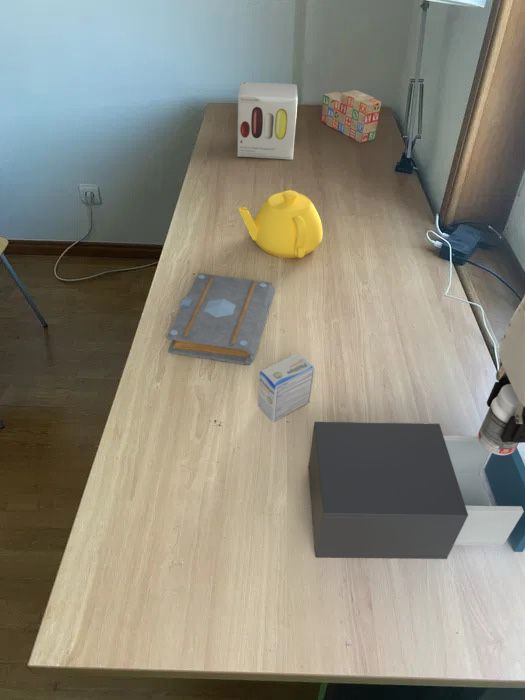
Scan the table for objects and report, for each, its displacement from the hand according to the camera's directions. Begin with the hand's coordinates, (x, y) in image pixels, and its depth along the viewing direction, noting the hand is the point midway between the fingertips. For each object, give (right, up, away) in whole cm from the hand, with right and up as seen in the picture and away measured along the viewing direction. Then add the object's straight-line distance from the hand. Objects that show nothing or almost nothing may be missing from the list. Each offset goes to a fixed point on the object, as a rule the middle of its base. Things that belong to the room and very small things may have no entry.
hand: (506, 421), depth 69 cm
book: (-38, +14, +42) cm, 58 cm away
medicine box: (-26, -1, +26) cm, 37 cm away
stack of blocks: (-1, +82, +120) cm, 146 cm away
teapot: (-26, +33, +64) cm, 77 cm away
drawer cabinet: (-14, -14, +11) cm, 23 cm away
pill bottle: (0, -3, +3) cm, 4 cm away
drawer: (-1, -14, +11) cm, 18 cm away
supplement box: (-29, +71, +106) cm, 131 cm away
